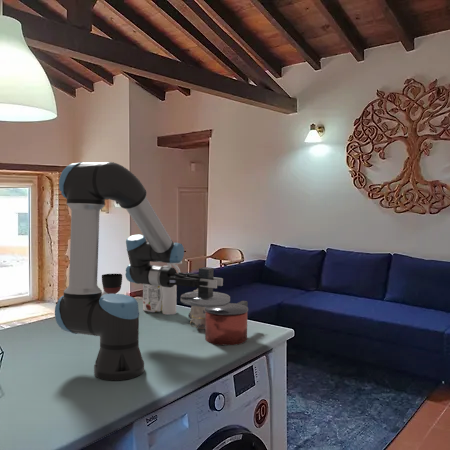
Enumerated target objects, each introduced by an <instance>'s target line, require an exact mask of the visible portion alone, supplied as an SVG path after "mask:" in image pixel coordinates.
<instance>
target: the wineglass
mask: <svg viewBox="0 0 450 450" xmlns="http://www.w3.org/2000/svg"><path fill="white" fill-rule="evenodd" d="M101 283H102V284H101V285H102V289H103V291H105V292H106V293H108V294H119V292H120V290H121V289H122V284H123V274H122V273H106V274H102V275H101Z"/></svg>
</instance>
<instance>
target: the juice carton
mask: <svg viewBox="0 0 450 450" xmlns="http://www.w3.org/2000/svg"><path fill="white" fill-rule="evenodd" d="M159 301H160V286H158V287H156V285H148V284H142V306H143V307H142V308H143V311H144V312H150V313H157V312H159V311H156V310H154V309H155V307H156V305H157V303H158V302H159ZM161 311H162V306H161Z"/></svg>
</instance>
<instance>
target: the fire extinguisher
mask: <svg viewBox="0 0 450 450" xmlns="http://www.w3.org/2000/svg"><path fill="white" fill-rule="evenodd" d="M182 264H183V260H182V261H181V262H180V263H166V265H163V266H164V267H172V266H173V267H172V268H174V269H175V270H176V272H177V273H178V274H179V272H181V269H180V267H179V265H182ZM177 287H178V285H174V286H173V287H163V286H160V301H159V302H158V303H157V305H156V307H155V309H154V310H156V311H158V312H161V311H162V315H168V316H169V315H175V314H177V291H178V290H177ZM161 306H162V310H161Z"/></svg>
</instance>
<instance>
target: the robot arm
mask: <svg viewBox="0 0 450 450" xmlns="http://www.w3.org/2000/svg"><path fill="white" fill-rule="evenodd" d="M58 180H59V181H58V187H59V191H60V194H61V196H62V197H63V198H65V199H66V205H67V206H68V208H70V210H71V211H70V212H71V215H70V243H69V244H70V245H69V273H68V275H69V276H68V286H67V287H66V288H65V289H64V290H63V295H61V296H60V297H59V298H58V300H57V303H56V304H55V307H54V318H55V322H56V324H57V326H58V327H59V328H61V330H63V331H64V332H68V333H71V334H75V335H76V334H78V335H79V334H80V335H88V336H95V337H99V349H98V352H97V356H96V359H95V363H94V366H93V371H94V372H93V374H94V376H95V377H96V378H98V379H100V380H104V381H105V380H106V381H125V380H130V379H134V378H137V377H140V376H141V375H142V374H143V373H144V371H145V361H144V359H143V356H142V352H141V349H140V347H139V346H140V345H139V333H140V332H139V329H140V328H139V327H140V323H139V317H140V312H139V311H140V310H139V302H138V300H137V299H136V298H134V296H130V295H127V294H122V293H116V294H105V295H102V291H103V290H102V289H101V288H100V287H99V286H98V269H99V268H98V266H99V241H100V240H99V239H100V238H99V236H100V212H101V210H103V208H104V207H105V206H106V201H107V200H111V201H113V202H116V203H117V204H118V205H119V206H120V207H121V208H122V209H125V210H126V211H127V213H128V214H129V216H130V217H131V219H132V220H133V222H134V223H135V224H136V226H137V228H138V229H139V231H140V232H141V233H140V234H138V233H137V234H132V235H129V237H127V238H126V241H125V244H126V251H127V256H128V261H129V264H128V265H127V266H126V268H125V278H126V280H127V281H128V282H130V283H134V284H137V285H138V284H141V285H143V284H148V285H156V287H158V286H163V287H173V286H174V285H177V286H182V287H188V288H190V287H191V288H195V287H196V289H197V288H199V285H200V286H201V287H209V288H213V289H218V287H222V286H224V284H223V283H224V278H222V277H214V276H213V280H209V279H200V281H199V273H198V274H197V273H191V272H186V273H184V272H181V271H180V272H179V274H178V271H177V269H176V268H175V267H164V266H165V265H163V266H162V265H152V264H151V263H152V262H153V263H164V264H165V263H166V264H167V263H180V262H181V261H182V262H183V259H184V256H185V247H184V246H183V245H184V244H182V243H180V242H173V239H172V238H171V237H170V235H169V233H168V232H167V230H166V227H165V226H164V225H163V223H162V221H161V219H160V217H159V216H158V215H157V213H156V212H155V210H154V208H153V206H152V205H151V202H150V201H149V199H148V197H147V190H146V188H145V187H144V185H143V183H142V182H141V181H140V179H139V178H138V176H136V175H135V174H134V173H133V172H132V171H130V170H129V169H128V168H126V167H125V166H123V165H121V164H119V163H116V162H112V161H104V162H103V161H102V162H101V161H100V162H99V161H98V162H97V161H95V162H94V161H92V162H91V161H90V162H89V161H87V162H86V161H80V162H73V163H70V164H68V165H66V167H65V168H63V170H62V171H61V174H60V176H59V179H58ZM150 262H151V263H150Z"/></svg>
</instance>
